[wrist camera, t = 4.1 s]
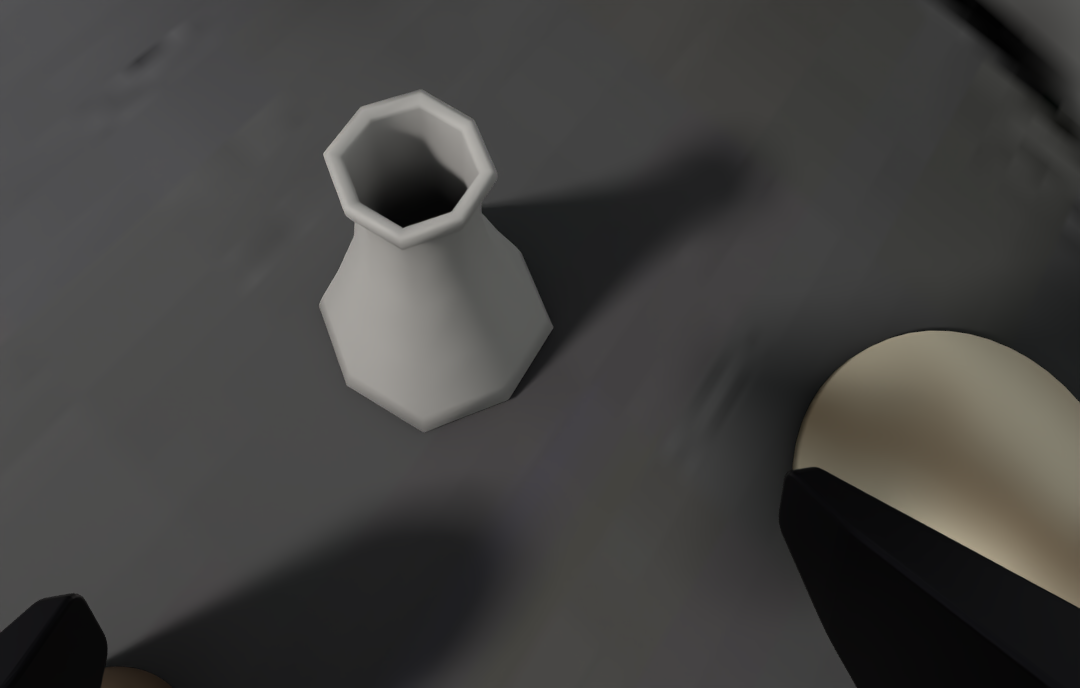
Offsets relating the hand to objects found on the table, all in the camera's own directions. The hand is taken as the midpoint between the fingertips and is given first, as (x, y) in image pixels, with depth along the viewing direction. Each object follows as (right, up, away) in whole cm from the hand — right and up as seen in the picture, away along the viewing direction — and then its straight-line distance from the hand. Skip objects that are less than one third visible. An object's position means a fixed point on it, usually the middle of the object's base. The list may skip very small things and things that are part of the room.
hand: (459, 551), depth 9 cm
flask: (-2, +3, +14) cm, 15 cm away
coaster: (+15, -2, +14) cm, 20 cm away
